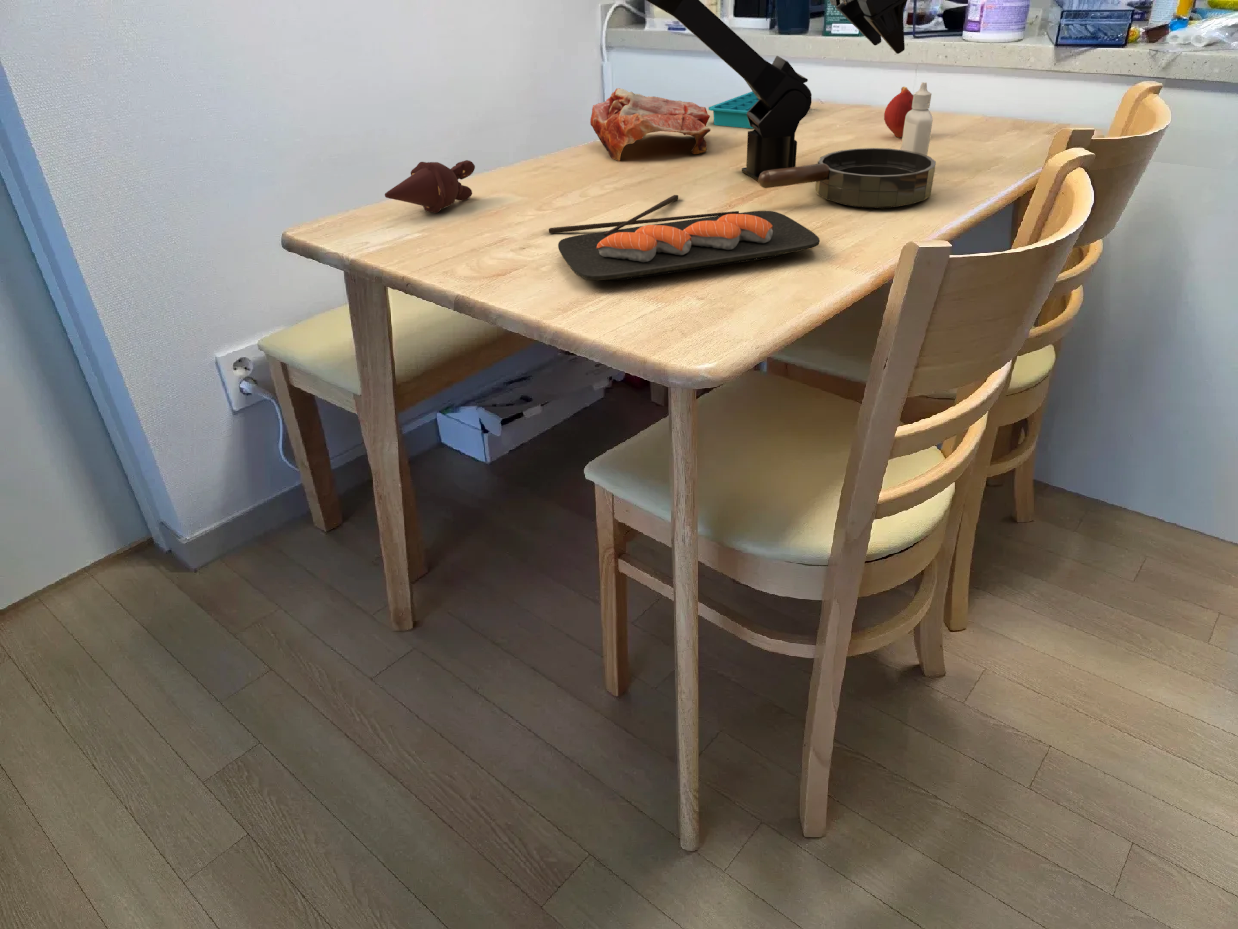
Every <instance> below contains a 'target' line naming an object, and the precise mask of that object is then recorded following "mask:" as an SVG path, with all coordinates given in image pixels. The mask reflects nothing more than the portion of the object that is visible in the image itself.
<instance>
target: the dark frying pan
mask: <svg viewBox="0 0 1238 929" xmlns="http://www.w3.org/2000/svg"><path fill="white" fill-rule="evenodd" d="M822 163H823V164H826V165H828V166H829V168H830V169H829V175H828V178H827V179H826V180H824V181H817V182H815V192H816V193H817V195H818V196H819V197H821V198H823V199H825V200H827V201H830V202H834V203H836V204H840V205H844V206H848V207H853V208H862V209H890V208H899V207H904V206H909V205H913V204H917V203H919V202H922V201H926V199H928V198H929V197H931V195H932V190H933V184H934V179H935V178H934V177H935V172H936V165H937V161H936V160H935V159H934V158H932V157H931V156H929V155H927V156H926V155H924V154H921V153H917V152H912V151H907V150H901V149H898V148H888V147H887V148H885V147H864V148H863V147H862V148H849V149H842V150H837V151H833V152H829V153H827V154H825V155H822V156H821V157H819V160H818V161H817V164H822Z"/></svg>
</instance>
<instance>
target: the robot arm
mask: <svg viewBox="0 0 1238 929" xmlns="http://www.w3.org/2000/svg"><path fill="white" fill-rule="evenodd" d="M645 1H646V2H648V3H650V4H652V5H653V6H655V7H656V8H658V9H660V10H662V11H663V12H665V13H667V14H669V15H671V17H674V19H676V20H677V21H678V22H679V23H680V24H681V25H683V26H684V27H685V28H686V29H687V30H688V31H689V32H690V33H692V35H694V36H695V37H696V38H697V39H698V40H699V41H700V42H702V43H703V44H704V45H705V46H706V47H707V48H708V49H709V50H711V51H712V52H713V53H714V54H715V55H716V56H717V57H719V58H720V59H721V61H723V62H724V63H726V65H727V66H729V67H730V69H732V70H733V71H734V72H735V73H736V74H738V75H739V76H740V77H741V78H742V79H743V81H745V83H746V84H747V86H748V87H749V88H750V90H751V92H752V91H753V93H754V94H755V95H756V97H757V98H758V99H759V100H758V101H757V102H756V103H755V104H754V105H753V107H752V108H751V109H750V110H749V111H748V112H747V117H748V121H749V124H750V126H751V127H753V128H754V129H753V128H752V130H748V131H747V137H746V138H747V139H746V140H747V141H746V164H745V165H746V166H745V167H742V168H741V172H742V173H744V174H745V175H747V176H749V177H750V178H752V179H754V180H756V181H758V178H759V175H760V174H761V173H762V172H763V171H767V170H775V169H782V168H790V167H797V165H796V164H797V149H798V141H797V140H796V139H795V138H796V132H797V129H798V127H799V125H800V122H801V121H802V120H803V119H804V118H805V117H806V116H807V115H808V113H809V112H810V110H811V106H812V101H813V100H812V92H811V89H810V88H809V87H808V85H807V84H805V83H807V82H809V79H808V78H806V77H805V76H803V75H802V74H800V73H798V72H797V71H796V70H795V69H794V67H793V66H792V65H791V63H790V62H789V61H788V60H786V59H784V58H782V57H780V56H779V55H776V56H775V57H774V60H773V61H772V63H771V62H769V61H768V60H766V59H764V58H763V57H762V56H761V55H760V54H759V53H758V52H757V51H756V50H755V49H753V48H752V47H751V46H750V45H749V44H748V43H747V42H746V41H745V40H744V39H742V37H740V36H739V35H738V33H736V32H735V31H734V30H732V28H730V27H729V26H728V25H727V24H726V23H725V22H724V21H723V20H722V19H721V18H719V16H717V14H715V13H714V12H713V11H711V9H709V7H707V5H705V3H703V2H702V1H701V0H645ZM829 3H830V5H831V6H833V7H835V9H836V11H838V12H839V13H840V14H841V15H842V16H843V17H844V18H845V19H846V20H847V21H849V23H850V24H852V25H853V27H855V29H856V30H858V31H859V33H861V34H862V36H864V38H866V39H867V40H868V41H869V43H871V44H872V45H873V46H878V45H879V44H881V43H882V39H883V40H884V41H885V43H886V44H887V46H889V47H890V49H891V50H893V51H894V52H895V54H897V55H899V54H901V53H902V52H904V51H905V50H906V47H905V45H906V44H905V27H904V8H905V6H906V5H907V3H908V0H829Z"/></svg>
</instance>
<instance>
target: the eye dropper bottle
mask: <svg viewBox="0 0 1238 929" xmlns="http://www.w3.org/2000/svg"><path fill="white" fill-rule="evenodd" d="M931 100H932V92H930V91H928V83H927V82H926V81H924V82H923V81H922V82H921V84H920V87H919V89H918V90H917V91H916V92H914V93H913V102H912V108H913V109H912V110H910V111H909V112H908V113H907V114H906V117H905V123H904V130H903V136H902V137H901V145H900V150H907V151H912V152H917V153H921V154H924V155H926V156H929V155H928V154H929V148H930V142H931V135H932V129H933V120H934V118H933V114H932V113H931V110H930V106H931Z"/></svg>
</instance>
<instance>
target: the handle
mask: <svg viewBox="0 0 1238 929" xmlns="http://www.w3.org/2000/svg"><path fill="white" fill-rule="evenodd" d="M829 169H830V168H829V166H828V165H826V164H823V163H822V164H818V163H815V164H807V165H800V166H798V165H797V166H795V167H790V168H782V169H775V170H767V171H763V172H762V173H761V174H760V175H759V178H758V180H757V181H758V184H759V186H760V187H761V188H763V189H772V188H779V187H786V186H793V185H802V184H808V183H816V182H817V181H824V180H826V179H827V178H828V175H829Z"/></svg>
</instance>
